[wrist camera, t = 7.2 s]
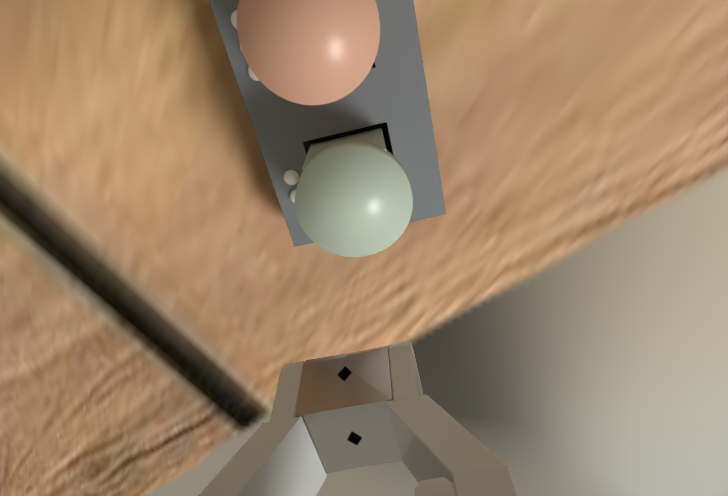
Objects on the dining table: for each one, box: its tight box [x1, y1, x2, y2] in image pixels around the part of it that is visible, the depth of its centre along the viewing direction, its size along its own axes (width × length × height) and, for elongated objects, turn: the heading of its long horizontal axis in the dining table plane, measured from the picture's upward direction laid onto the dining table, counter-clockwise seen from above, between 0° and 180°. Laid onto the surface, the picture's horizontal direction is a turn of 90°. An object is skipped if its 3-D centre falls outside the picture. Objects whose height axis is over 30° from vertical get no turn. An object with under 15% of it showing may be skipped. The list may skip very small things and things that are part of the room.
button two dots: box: [295, 128, 413, 257], centre depth 21 cm, size 5×5×5 cm
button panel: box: [209, 0, 446, 247], centre depth 21 cm, size 21×9×3 cm, turn 13°
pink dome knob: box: [237, 0, 380, 105], centre depth 18 cm, size 5×5×5 cm
